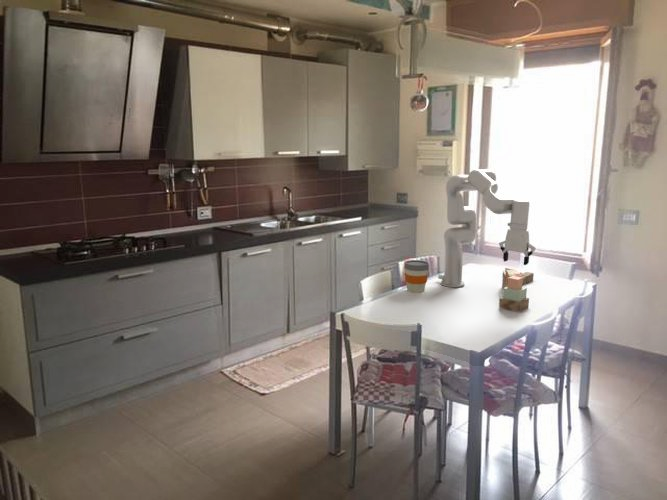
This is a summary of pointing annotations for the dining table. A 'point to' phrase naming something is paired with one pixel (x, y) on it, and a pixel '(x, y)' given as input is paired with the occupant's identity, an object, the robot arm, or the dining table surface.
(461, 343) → the dining table surface
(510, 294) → the sage tower block
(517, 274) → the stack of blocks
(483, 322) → the dining table surface
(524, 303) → the walnut tower base
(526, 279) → the wooden block set
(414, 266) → the reusable coffee cup
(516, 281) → the terracotta cube
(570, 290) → the dining table surface
